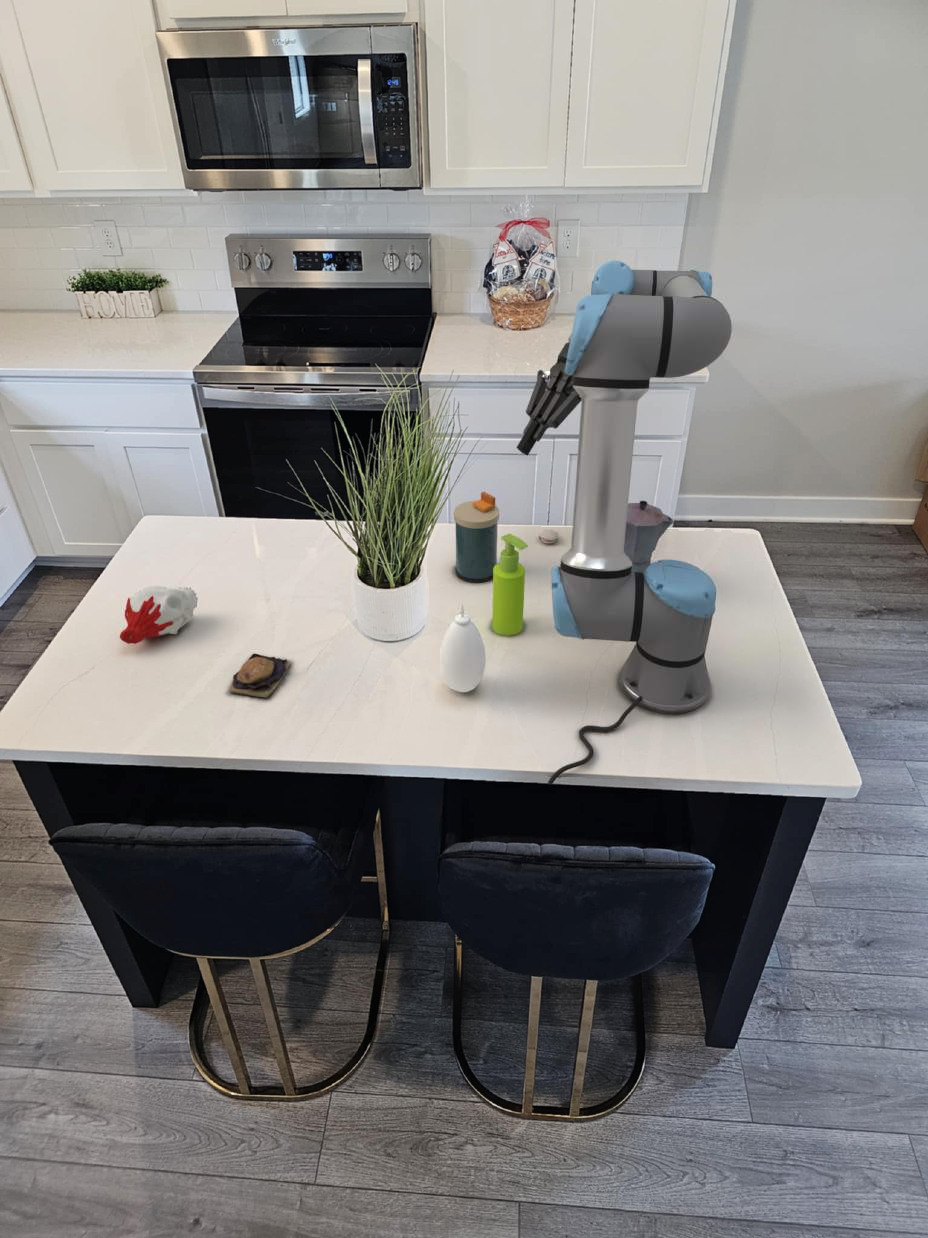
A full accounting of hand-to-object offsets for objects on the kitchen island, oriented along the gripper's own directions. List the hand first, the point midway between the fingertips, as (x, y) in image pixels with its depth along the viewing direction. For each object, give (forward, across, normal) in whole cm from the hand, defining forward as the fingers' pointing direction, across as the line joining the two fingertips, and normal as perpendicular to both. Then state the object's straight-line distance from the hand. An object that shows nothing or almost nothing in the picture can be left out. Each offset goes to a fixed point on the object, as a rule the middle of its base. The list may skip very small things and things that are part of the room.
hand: (522, 451), depth 173 cm
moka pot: (+13, -26, -21) cm, 35 cm away
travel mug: (+26, 0, -8) cm, 27 cm away
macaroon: (+11, -2, -23) cm, 26 cm away
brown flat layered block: (+62, 0, +30) cm, 69 cm away
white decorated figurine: (+68, +26, +35) cm, 80 cm away
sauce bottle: (+45, -26, +13) cm, 54 cm away
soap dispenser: (+32, -19, -1) cm, 37 cm away
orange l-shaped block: (+14, 0, +1) cm, 14 cm away
